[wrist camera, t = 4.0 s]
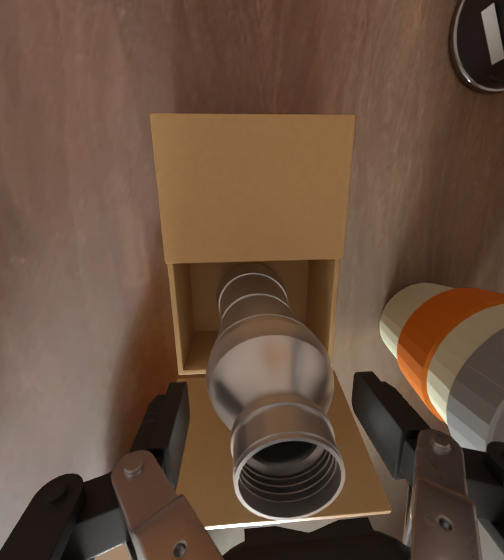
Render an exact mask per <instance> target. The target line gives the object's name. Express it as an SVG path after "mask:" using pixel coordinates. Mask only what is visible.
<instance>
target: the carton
mask: <svg viewBox="0 0 504 560" xmlns="http://www.w3.org/2000/svg"><path fill="white" fill-rule="evenodd" d="M150 122H151V132H152V141H153V151H154V160H155V170H156V180H157V189H158V199H159V209H160V218H161V228H162V237H163V247H164V257H165V264H168V274H169V284H170V294H171V304H172V314H173V323H174V333H175V343H176V353H177V363H178V373H179V375H183V374H202V373H206V368H207V364H208V360H209V357H210V353H211V350H212V348H213V346H214V343H215V341H216V338H217V336H218V333H219V330H220V325H221V315H220V313H219V310H218V306H217V301H216V291H217V288H218V284H219V283H220V281H221V279H222V278H223V277H224V275H225V274H226V273H227V272H228V271H229V270H231V269H232V268H234V267H236V266H238V265H241V264H245V263H255V264H260V265H263V266H265V267H267V268H269V269H271V270H273V271H274V272H275V273H276V274H278V276H279V277H280V278H281V279H282V281H283V283H284V285H285V288H286V291H287V296H288V304H289V307H290V309H291V310H292V312H293V313H294V314H295V316H296V317H297V318H298V319H299V320H300V321H301V322H302V323H303V324H304V325H305V326H306V327H307V328H308V329H309V330H310V331H312V332H313V334H314V335H315V336H316V337H317V338H318V339H319V341H320V342H321V343H322V345H323V346H324V347H325V348H326V350H327V352H328V354H329V356H330V359H331V363H332V353H333V340H334V328H335V315H336V302H337V289H338V276H339V263H340V259H344V247H345V235H346V222H347V210H348V198H349V186H350V173H351V161H352V149H353V137H354V124H355V115H316V114H168V113H150Z"/></svg>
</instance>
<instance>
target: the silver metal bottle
mask: <svg viewBox="0 0 504 560" xmlns="http://www.w3.org/2000/svg"><path fill="white" fill-rule="evenodd" d="M216 301H217V306H218V310H219V313H220V315H221V325H220V330H219V333H218V336H217V338H216V341H215V343H214V346H213V348H212V350H211V353H210V357H209V360H208V364H207V368H206V379H205V380H206V386H207V391H208V394H209V397H210V400H211V403H212V405H213V408H214V410H215V412H216V413H217V415H218V416H219V418H220V419H221V420H222V421H223V422H224V424H225V425H226V426H227V427H228V428H229V429H230V430H231V445H230V447H231V454H232V457H233V483H234V488H235V493H236V495H237V497H238V499H239V501H240V502H241V503H242V504H243V506H244V507H246V508H247V509H248V510H249V511H251V512H253V513H254V514H256V515H258V516H261V517H264V518H267V519H273V520H296V519H301V518H305V517H308V516H311V515H313V514H316V513H318V512H320V511H321V510H323V509H325V508H326V507H327V506H329V505H330V504H331V503H332V502H333V501H334V500H335V499H336V498H337V496H338V495H339V494H340V492H341V490H342V488H343V485H344V481H345V468H344V463H343V459H342V456H341V454H340V452H339V449H338V447H337V444H336V442H335V435H334V431H333V428H332V425H331V423H330V420H329V418H328V417H327V415H326V414H327V412H328V409H329V407H330V404H331V401H332V398H333V393H334V374H333V367H332V363H331V359H330V356H329V354H328V352H327V350H326V348H325V347H324V346H323V345H322V343H321V342H320V341H319V339H318V338H317V337H316V336H315V335H314V334H313V332H312V331H310V330H309V329H308V328H307V327H306V326H305V325H304V324H303V323H302V322H301V321H300V320H299V319H298V318H297V317H296V316H295V314H294V313H293V312H292V310H291V309H290V307H289V304H288V296H287V291H286V288H285V285H284V283H283V281H282V279H281V278H280V277H279V276H278V274H276V273H275V272H274V271H273V270H271V269H269V268H267V267H265V266H263V265H260V264H255V263H245V264H241V265H238V266H236V267H234V268H232V269H231V270H229V271H228V272H227V273H226V274H225V275H224V277H223V278H222V279H221V281H220V283H219V284H218V288H217V291H216Z"/></svg>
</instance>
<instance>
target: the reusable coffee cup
mask: <svg viewBox="0 0 504 560" xmlns="http://www.w3.org/2000/svg"><path fill="white" fill-rule="evenodd" d="M379 328H380V334H381V337H382V340H383V341H384V343H385V344H386V345H387V347H388V348H389V349H390V351H391V352H392V353H393V355H394V356H395V357H396V358H397V360H398V364H399V367H400V369H401V371H402V373H403V374H404V376H405V377H406V379H407V380H408V381H409V383H410V384H411V385H412V387H413V388H414V389H415V391H416V392H417V393H418V395H419V396H420V397H421V399H422V400H423V401H424V403H425V404H426V406H427V407H428V408H429V410H430V411H431V412H432V413H433V414H434V415H435V416H436V417H437V418H438V419H440V420H441V421H443V422H445V423H446V424H447V425H448V428H449V431H450V434H451V436H452V437H453V439H454V440H455V441H456V442H457V443H458V444H459V445H460V446H461V447H463V448H468V449H473V450H478V451H483V452H486V448H487V445H488V444H489V443H490V442H494V441H499V442H504V294H502V293H497V292H492V291H487V290H482V289H476V288H468V287H466V288H452V287H447V286H442V285H438V284H433V283H417V284H413V285H410V286H408V287H406V288H404V289H402V290H401V291H399V292H398V293H396V294H395V295H394V296H393V297H392V298H391V299H390V300H389V302H388V303H387V304H386V306H385V308H384V310H383V312H382V315H381V318H380V326H379Z"/></svg>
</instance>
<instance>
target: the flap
mask: <svg viewBox="0 0 504 560" xmlns="http://www.w3.org/2000/svg"><path fill="white" fill-rule="evenodd" d="M333 374H334V393H333V398H332V401H331V404H330V407H329V409H328V412H327V414H326V415H327V417H328V418H329V420H330V423H331V425H332V428H333V431H334V435H335V442H336V444H337V447H338V449H339V452H340V454H341V456H342V459H343V463H344V468H345V481H344V485H343V488H342V490H341V492H340V494H339V495H338V496H337V498H336V499H335V500H334V501H333V502H332V503H331V504H330V505H329V506H327V507H326V508H325V509H323V510H321V511H320V512H318V513H316V514H313V515H311V516H308V517H305V518H301V519H296V520H273V519H267V518H264V517H261V516H258V515H256V514H254V513H253V512H251V511H249V510H248V509H247V508H246V507H244V506H243V504H242V503H241V502H240V501H239V499H238V497H237V495H236V493H235V488H234V483H233V457H232V454H231V447H230V445H231V430H230V429H229V428H228V427H227V426H226V425H225V424H224V422H223V421H222V420H221V419H220V418H219V416H218V415H217V413H216V412H215V410H214V408H213V405H212V403H211V400H210V397H209V394H208V391H207V386H206V380H205V379H206V377H204V378H186V379H177V382H187V385H188V396H189V406H190V421H189V427H188V432H187V437H186V443H185V448H184V453H183V458H182V463H181V468H180V473H179V478H178V484H177V489H176V494H177V495H178V496H179V495H180V494H183V495H184V496H185V497H186V499H187V500H188V502H189V503H190V505H191V507H192V508H193V510H194V511H195V513H196V515H197V516H198V518H199V519H200V521H201V523H202V524H203V526H204V527H205V529H217V528H229V527H240V526H251V525H262V524H274V523H285V522H296V521H308V520H319V519H330V518H342V517H353V516H364V515H376V514H387V513H390V512H391V511H392V509H391V507H390V505H389V502H388V500H387V497H386V495H385V492H384V490H383V488H382V485H381V483H380V480H379V478H378V475H377V473H376V471H375V468H374V466H373V463H372V461H371V459H370V456H369V454H368V451H367V449H366V446H365V444H364V442H363V439H362V437H361V434H360V432H359V429H358V427H357V425H356V422H355V420H354V417H353V415H352V412H351V410H350V408H349V405H348V403H347V400H346V398H345V396H344V393H343V391H342V388H341V386H340V383H339V381H338V379H337V376H336V374H335V371H333Z"/></svg>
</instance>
